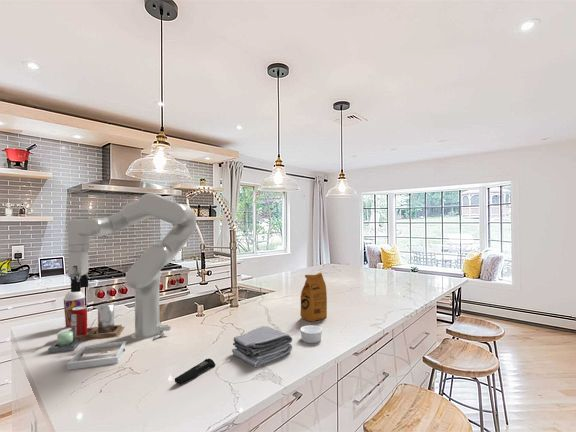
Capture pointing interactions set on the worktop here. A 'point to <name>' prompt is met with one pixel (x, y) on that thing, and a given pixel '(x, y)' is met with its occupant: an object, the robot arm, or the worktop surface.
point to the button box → (72, 347)
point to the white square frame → (96, 362)
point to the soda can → (79, 321)
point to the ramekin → (311, 334)
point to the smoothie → (72, 304)
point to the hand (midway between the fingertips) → (80, 289)
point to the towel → (262, 345)
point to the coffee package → (314, 298)
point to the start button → (65, 338)
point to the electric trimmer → (195, 371)
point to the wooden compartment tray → (94, 335)
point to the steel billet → (106, 318)
